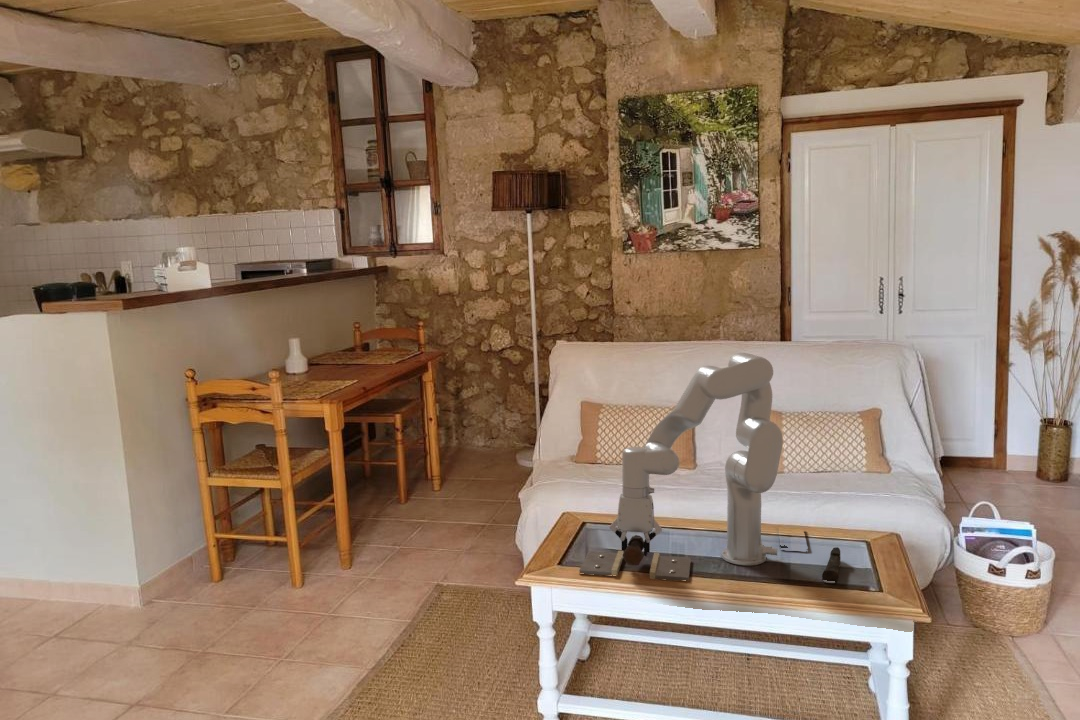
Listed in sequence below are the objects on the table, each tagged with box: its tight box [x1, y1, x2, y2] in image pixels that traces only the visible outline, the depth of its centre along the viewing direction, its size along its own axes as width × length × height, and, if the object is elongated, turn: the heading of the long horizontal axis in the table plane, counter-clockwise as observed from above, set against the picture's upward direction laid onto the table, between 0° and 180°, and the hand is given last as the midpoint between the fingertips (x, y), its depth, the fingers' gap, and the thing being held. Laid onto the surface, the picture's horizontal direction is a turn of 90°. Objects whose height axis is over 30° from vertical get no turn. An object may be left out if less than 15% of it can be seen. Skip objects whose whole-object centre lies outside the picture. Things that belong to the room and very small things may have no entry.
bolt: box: [623, 534, 645, 566], centre depth 225 cm, size 6×5×15 cm
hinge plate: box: [579, 550, 692, 581], centre depth 226 cm, size 30×15×2 cm, turn 77°
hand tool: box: [821, 546, 841, 582], centre depth 220 cm, size 19×4×5 cm, turn 152°
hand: (635, 553), depth 225 cm, fingers closed on bolt, 5 cm apart
